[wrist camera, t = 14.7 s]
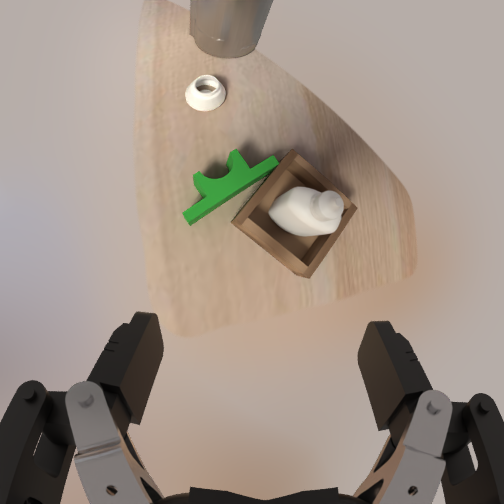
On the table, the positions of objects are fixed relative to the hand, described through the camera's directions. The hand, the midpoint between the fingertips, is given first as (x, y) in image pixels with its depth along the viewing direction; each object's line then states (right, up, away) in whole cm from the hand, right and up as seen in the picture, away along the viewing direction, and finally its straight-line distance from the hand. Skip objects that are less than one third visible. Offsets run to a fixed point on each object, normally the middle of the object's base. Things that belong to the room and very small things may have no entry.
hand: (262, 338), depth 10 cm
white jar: (-6, +23, +21) cm, 32 cm away
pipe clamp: (-4, +11, +22) cm, 25 cm away
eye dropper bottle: (+4, +7, +23) cm, 24 cm away
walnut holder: (+4, +7, +23) cm, 24 cm away
